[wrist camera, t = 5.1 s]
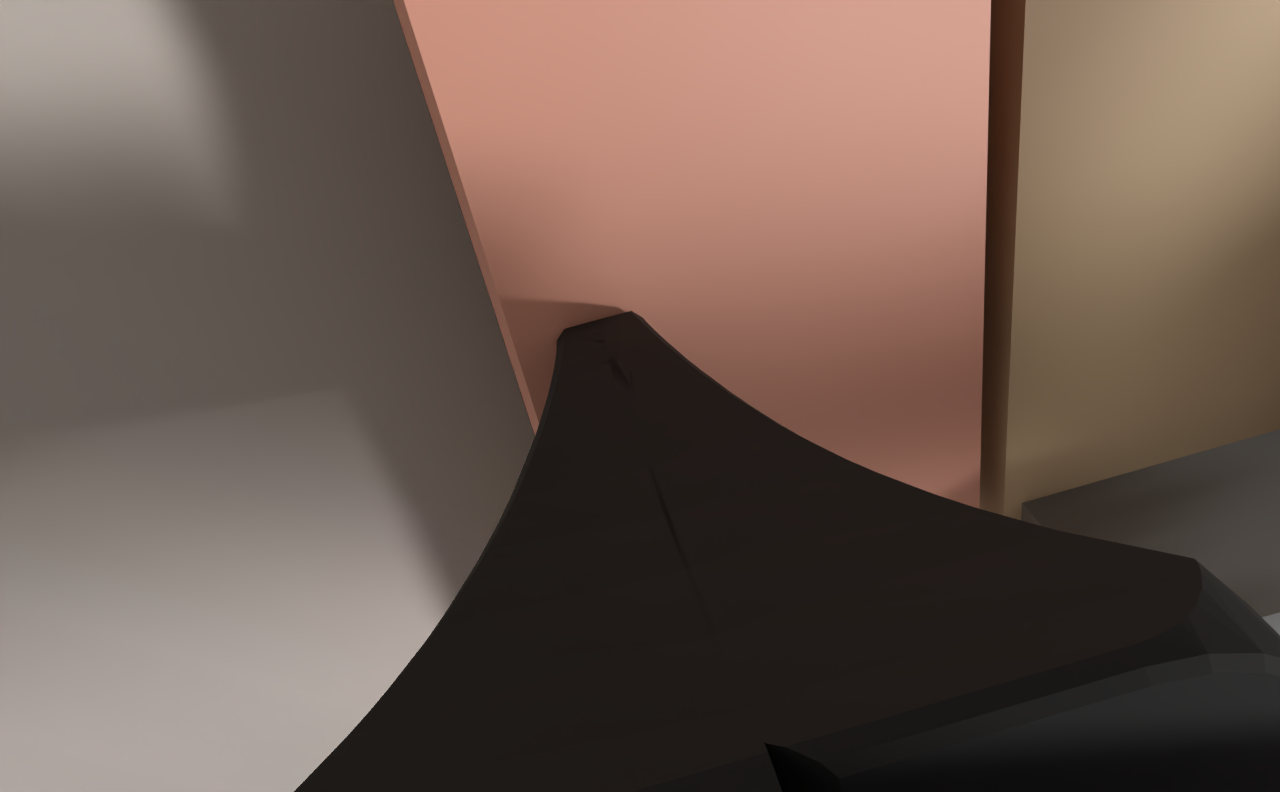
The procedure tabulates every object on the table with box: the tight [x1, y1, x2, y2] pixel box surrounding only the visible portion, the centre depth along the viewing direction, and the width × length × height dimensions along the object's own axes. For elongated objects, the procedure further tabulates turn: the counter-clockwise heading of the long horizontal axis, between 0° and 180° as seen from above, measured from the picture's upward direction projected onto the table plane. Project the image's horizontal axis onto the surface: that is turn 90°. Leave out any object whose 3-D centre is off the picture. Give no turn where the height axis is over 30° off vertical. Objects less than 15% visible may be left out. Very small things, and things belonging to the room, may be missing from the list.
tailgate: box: [393, 0, 991, 508], centre depth 11 cm, size 1×11×6 cm
